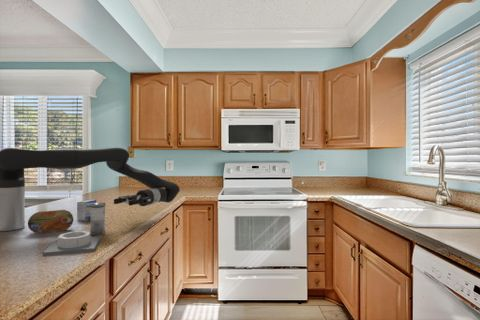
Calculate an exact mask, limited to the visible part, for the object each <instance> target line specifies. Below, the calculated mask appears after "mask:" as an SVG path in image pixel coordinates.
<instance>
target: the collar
mask: <svg viewBox="0 0 480 320" xmlns="http://www.w3.org/2000/svg"><path fill="white" fill-rule="evenodd" d="M101 236H102V235H101ZM101 236H91V235H90V231H86V230H77V231H69V232H65V233H60V234H59V235H58V236H57V238H56V239H55V240H54V241H53V242H52V243H51V244H50V245H49V246H48V247H46V249H45V250H44V251H43V252H42V256H44V257H45V256H53V255H54V256H56V255H67V254H78V253H89V252H95V251H96V248H97V247H98V245H99V243H100V241H101Z"/></svg>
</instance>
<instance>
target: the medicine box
mask: <svg viewBox="0 0 480 320" xmlns="http://www.w3.org/2000/svg"><path fill="white" fill-rule="evenodd" d="M96 202H98V201H97V199H87V200H86V199H85V200H82V201H77V203H76V220H77V221H88V220H89V221H90V203H96Z"/></svg>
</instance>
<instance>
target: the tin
mask: <svg viewBox="0 0 480 320" xmlns="http://www.w3.org/2000/svg"><path fill="white" fill-rule="evenodd" d="M73 223H74V215H73V213H72V212H70V211H69V210H66V209H57V210H45V211H39V212H38V211H37V212H35V213H33V214H32V215H31V216H30V217H29V218H28V220H27V226H28V229H29V230H30V231H31V232H33V233H35V234H45V233H53V232H54V233H55V232H64V231H66V230H68V229H70V228H71V227H72V225H73Z"/></svg>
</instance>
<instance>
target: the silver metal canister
mask: <svg viewBox="0 0 480 320" xmlns="http://www.w3.org/2000/svg"><path fill="white" fill-rule="evenodd" d="M105 206H106V202H103V201H102V202H99V201H97V202H96V203H90V219H89V221H90V225H89V227H90V229H89V232H90V237H97V236H100V235H101V236H103V234H104V235H106V231H105V229H106V228H105V227H106V207H105Z"/></svg>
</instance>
